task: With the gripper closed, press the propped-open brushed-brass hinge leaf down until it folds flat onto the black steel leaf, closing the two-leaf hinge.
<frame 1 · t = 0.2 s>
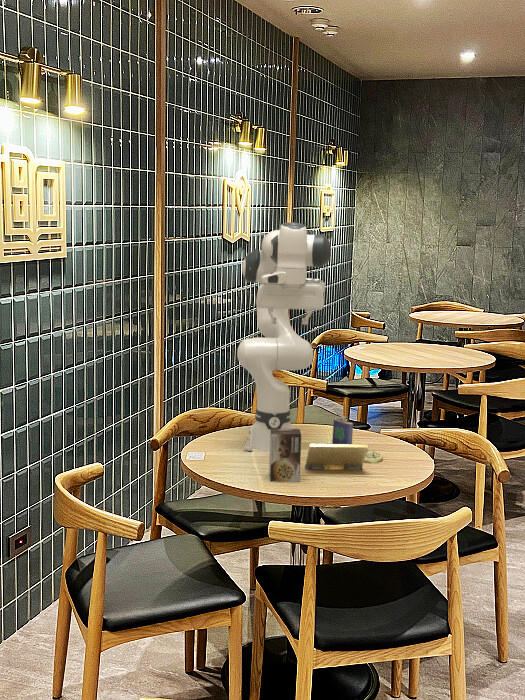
hand: (289, 324, 250), 47 cm above the table, fingers open, 8 cm apart
hinge base: (333, 472, 262), on the table
flask: (341, 446, 297), on the table
coffee box: (283, 483, 249), on the table
decorated donut: (365, 464, 275), on the table
flap: (336, 459, 258), point 5 cm above the table, hinge at 50.0°
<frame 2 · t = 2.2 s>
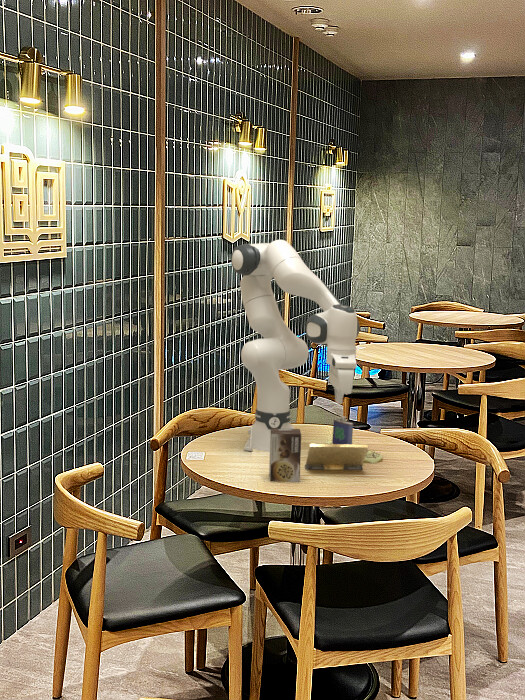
hand: (338, 402, 256), 23 cm above the table, fingers closed
nothing on the table moved.
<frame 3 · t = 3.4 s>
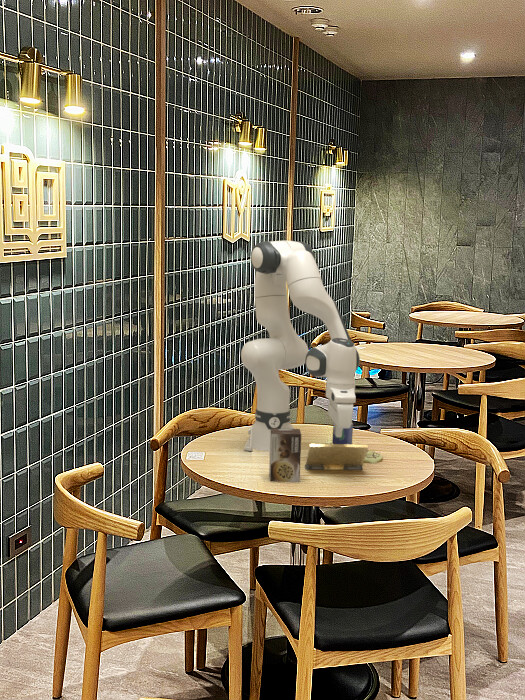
hand: (338, 436, 256), 13 cm above the table, fingers closed
nothing on the table moved.
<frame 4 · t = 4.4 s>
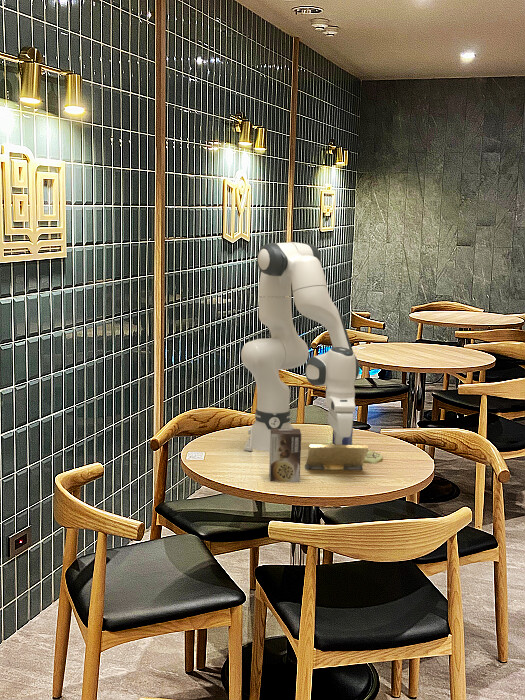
hand: (338, 445, 256), 10 cm above the table, fingers closed
flap: (336, 459, 258), point 5 cm above the table, hinge at 48.8°, touching gripper
everything else where it was.
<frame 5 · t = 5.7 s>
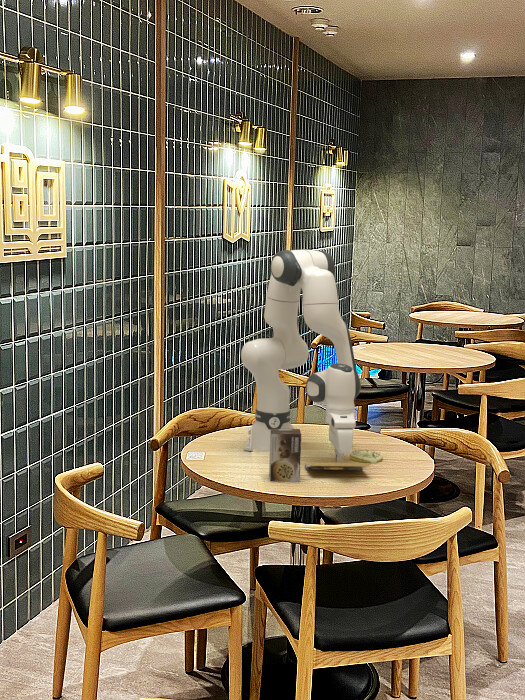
hand: (339, 461, 256), 5 cm above the table, fingers closed
flap: (336, 467, 257), point 3 cm above the table, hinge at 19.1°, touching gripper
everything else where it was.
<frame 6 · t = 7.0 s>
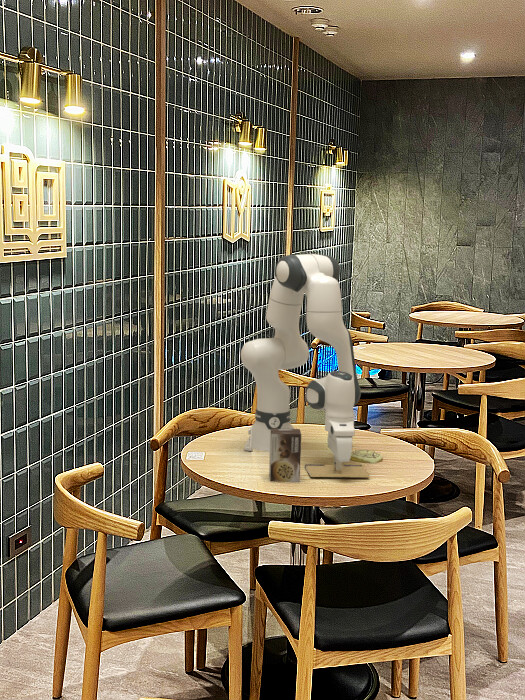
hand: (337, 468, 257), 3 cm above the table, fingers closed on flap
flap: (336, 472, 257), point 2 cm above the table, hinge at 2.7°, touching gripper
everything else where it was.
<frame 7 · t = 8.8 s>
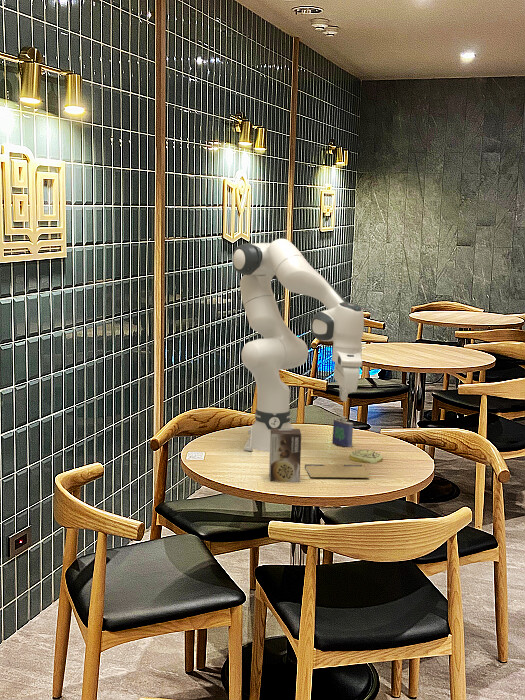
hand: (343, 400, 257), 24 cm above the table, fingers closed
flap: (336, 472, 257), point 2 cm above the table, hinge at 2.4°
everything else where it was.
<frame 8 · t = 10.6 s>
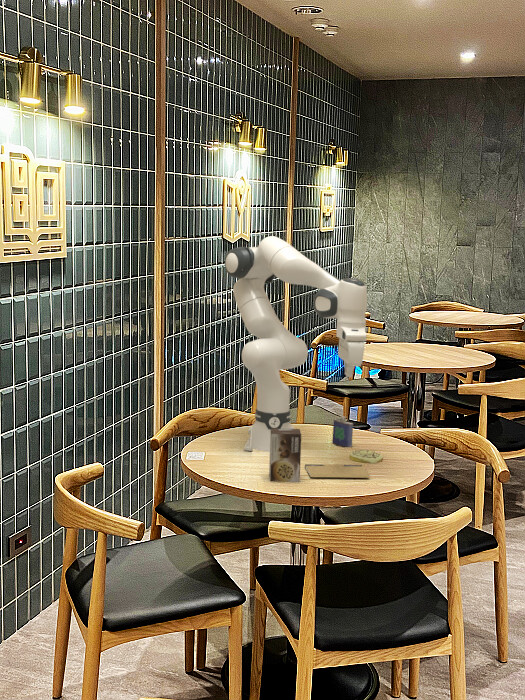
hand: (348, 376, 257), 31 cm above the table, fingers closed
nothing on the table moved.
at the end: flap at +2° (first picture: +50°); coffee box moved 0.2 cm from its start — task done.
